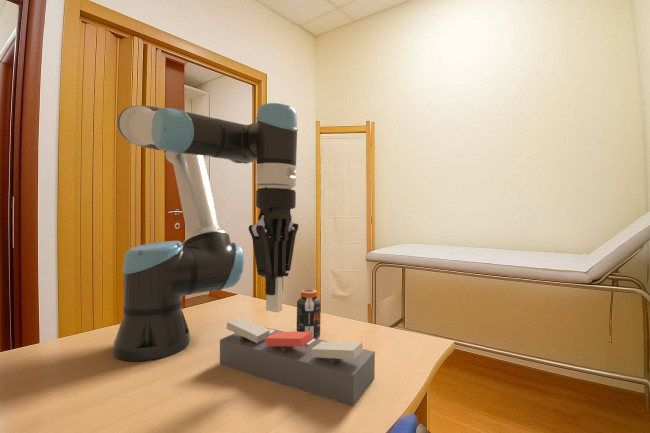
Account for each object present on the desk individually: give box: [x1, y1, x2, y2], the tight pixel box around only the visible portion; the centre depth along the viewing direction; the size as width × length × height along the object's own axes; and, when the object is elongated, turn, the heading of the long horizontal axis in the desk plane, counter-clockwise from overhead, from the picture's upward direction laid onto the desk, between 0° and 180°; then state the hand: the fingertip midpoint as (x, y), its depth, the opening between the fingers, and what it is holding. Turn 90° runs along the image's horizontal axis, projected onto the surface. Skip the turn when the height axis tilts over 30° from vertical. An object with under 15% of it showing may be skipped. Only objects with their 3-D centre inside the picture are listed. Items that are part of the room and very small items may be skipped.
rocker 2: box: [311, 341, 364, 359], centre depth 56 cm, size 8×4×1 cm, turn 62°
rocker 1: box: [226, 316, 270, 343], centre depth 66 cm, size 8×4×1 cm, turn 62°
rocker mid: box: [266, 331, 313, 347], centre depth 61 cm, size 8×4×1 cm, turn 62°
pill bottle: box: [296, 288, 322, 339], centre depth 81 cm, size 6×6×11 cm
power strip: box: [219, 326, 376, 407], centre depth 63 cm, size 29×10×6 cm, turn 62°
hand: (274, 310), depth 63 cm, fingers closed
